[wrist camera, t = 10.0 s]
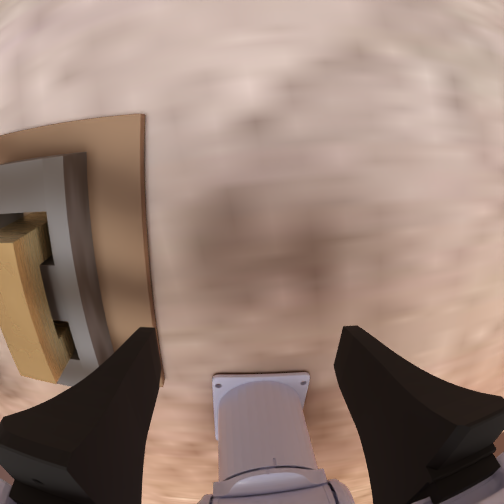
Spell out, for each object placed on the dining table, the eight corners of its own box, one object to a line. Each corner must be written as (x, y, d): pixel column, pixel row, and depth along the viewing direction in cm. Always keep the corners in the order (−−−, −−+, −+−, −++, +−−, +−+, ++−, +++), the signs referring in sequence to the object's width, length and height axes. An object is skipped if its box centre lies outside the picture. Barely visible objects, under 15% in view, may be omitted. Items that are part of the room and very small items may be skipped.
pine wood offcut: (86, 330, 20) (56, 383, 15) (55, 326, 20) (20, 375, 14) (65, 211, 17) (12, 242, 11) (31, 212, 17) (-24, 242, 11)
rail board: (164, 379, 23) (157, 414, 20) (29, 360, 22) (12, 387, 19) (145, 114, 16) (123, 109, 13) (-17, 141, 15) (-51, 147, 11)
